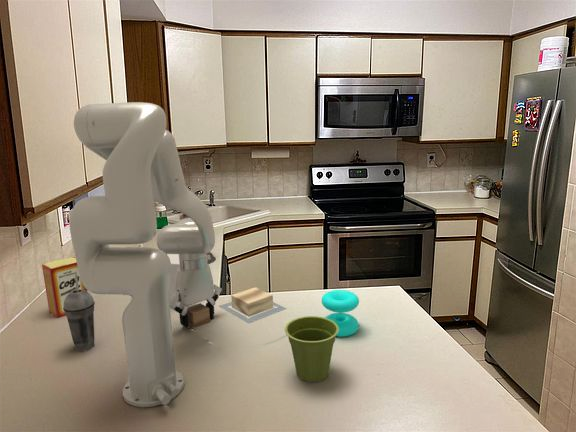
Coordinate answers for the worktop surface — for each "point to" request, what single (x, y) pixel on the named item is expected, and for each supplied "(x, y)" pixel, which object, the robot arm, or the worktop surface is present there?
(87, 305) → the beverage cup
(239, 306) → the maple slab
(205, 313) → the walnut block
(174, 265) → the milk carton
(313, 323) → the plant pot
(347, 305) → the donuts
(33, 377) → the worktop surface
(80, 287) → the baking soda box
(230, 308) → the board
